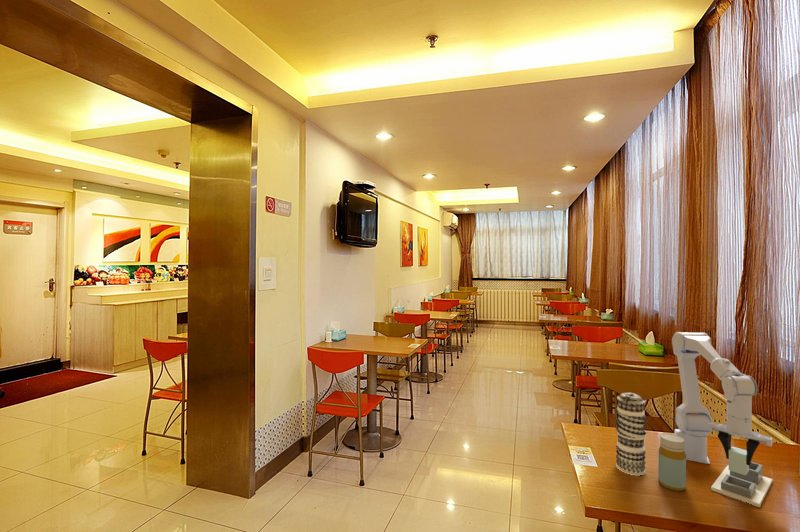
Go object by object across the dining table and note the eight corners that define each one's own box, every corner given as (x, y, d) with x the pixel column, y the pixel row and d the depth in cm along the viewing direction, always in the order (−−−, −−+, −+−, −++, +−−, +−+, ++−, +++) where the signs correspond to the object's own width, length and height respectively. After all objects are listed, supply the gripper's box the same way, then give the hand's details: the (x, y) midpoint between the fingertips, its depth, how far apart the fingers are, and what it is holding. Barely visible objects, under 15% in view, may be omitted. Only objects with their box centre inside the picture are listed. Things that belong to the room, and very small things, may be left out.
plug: (746, 475, 116) (746, 455, 116) (728, 470, 119) (728, 450, 119) (749, 470, 119) (749, 450, 118) (732, 464, 122) (732, 445, 122)
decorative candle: (618, 474, 129) (619, 398, 128) (611, 460, 138) (612, 389, 137) (650, 478, 126) (651, 400, 126) (641, 464, 135) (641, 391, 135)
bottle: (677, 494, 117) (678, 444, 117) (653, 482, 124) (653, 435, 123) (690, 488, 121) (691, 439, 120) (666, 477, 127) (666, 430, 127)
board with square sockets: (759, 507, 111) (759, 490, 111) (711, 490, 120) (711, 473, 120) (772, 482, 124) (772, 466, 124) (727, 468, 132) (727, 453, 132)
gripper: (705, 412, 121) (704, 455, 121) (769, 427, 110) (768, 475, 110) (711, 406, 126) (711, 448, 126) (773, 420, 114) (773, 467, 115)
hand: (738, 460), depth 118 cm, fingers closed on plug, 4 cm apart
